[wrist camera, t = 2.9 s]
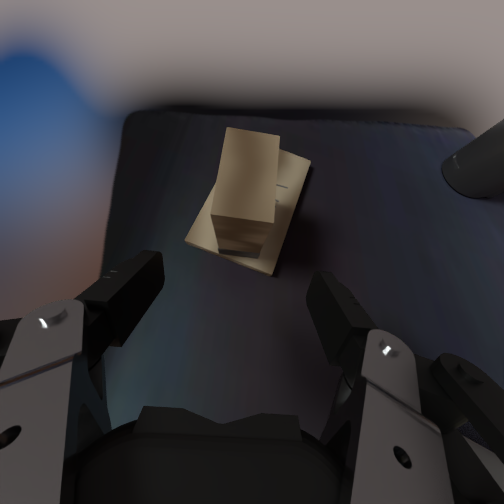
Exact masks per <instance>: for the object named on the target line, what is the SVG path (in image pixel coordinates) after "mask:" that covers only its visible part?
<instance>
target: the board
mask: <svg viewBox="0 0 504 504" xmlns="http://www.w3.org/2000/svg"><path fill="white" fill-rule="evenodd" d="M310 163H311V161H310V160H307V159H304V158H302V157H299V156H296V155H294V154H291V153H289V152H286V151H283V150H281V149H279V155H278V170H277V185H276V199H275V214H274V224H273V226H272V228H271V230H270V232H269V234H268V236H267V238H266V240H265V242H264V245H263V247H262V249H261V251H260V255H259V257H258V259H256V258H248V257H240V256H232V255H224V254H219V252H218V243H217V239H216V235H215V231H214V227H213V223H212V219H211V215H210V212H211V207H212V202H213V197H214V192H215V187H216V184H215V186H214V187H213V189H212V191H211V193H210V195H209V197H208V198H207V200H206V202H205V204H204V206H203V207H202V209H201V211H200V213H199V215H198V217H197V218H196V220H195V222H194V224H193V226H192V228H191V229H190V231H189V233H188V235H187V237H186V239H185V242H186V243H187V244H189V245H192V246H194V247H197V248H199V249H202V250H204V251H207V252H210V253H212V254H215V255H217V256H220V257H222V258H225V259H227V260H230V261H232V262H235V263H237V264H240V265H243V266H245V267H248V268H250V269H253V270H255V271H258V272H260V273H263V274H265V275H268V276H271V275H272V274H273V271H274V268H275V265H276V262H277V259H278V256H279V253H280V250H281V247H282V244H283V242H284V239H285V236H286V233H287V230H288V227H289V224H290V221H291V218H292V215H293V212H294V209H295V207H296V204H297V201H298V198H299V195H300V192H301V189H302V186H303V183H304V180H305V177H306V174H307V171H308V169H309V166H310Z"/></svg>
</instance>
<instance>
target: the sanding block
mask: <svg viewBox="0 0 504 504" xmlns="http://www.w3.org/2000/svg"><path fill="white" fill-rule="evenodd" d="M279 140H280V136H276V135H271V134H265V133H259V132H253V131H247V130H241V129H235V128H229V127H227V130H226V135H225V140H224V145H223V150H222V156H221V161H220V166H219V171H218V176H217V181H216V187H215V192H214V197H213V202H212V207H211V212H210V215H211V219H212V223H213V227H214V231H215V235H216V239H217V243H218V252H219V254H224V255H232V256H240V257H248V258H256V259H258V257H259V255H260V251H261V249H262V247H263V245H264V242H265V240H266V238H267V236H268V234H269V232H270V230H271V228H272V226H273V224H274V214H275V199H276V185H277V170H278V155H279Z"/></svg>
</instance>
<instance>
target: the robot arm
mask: <svg viewBox="0 0 504 504" xmlns="http://www.w3.org/2000/svg"><path fill="white" fill-rule="evenodd" d="M442 172H443V175H444V177H445V179H446V181H447V182H448V183H449V184H450V185H451V186H452V187H453V188H454V189H455V190H456V191H458V192H459V193H461V194H463V195H465V196H468V197H472V198H481V197H487V198H492V197H494V196H496V195H499V194H501V193H503V192H504V119H503V120H502V121H500V122H499V123H497V124H496V125H494V126H493V127H492V128H490V129H489V130H487V131H486V132H485V133H483V134H482V135H480V136H479V137H477V138H476V139H474V140H473V141H471V142H470V143H469V144H467V145H466V146H464V147H463V148H461V149H460V150H458V151H457V152H456V153H454V154H453V155H451V156H450V157H448V158H447V159H446V160H445V161H444V162H443V164H442ZM164 281H165V275H164V266H163V257H162V253H161V252H157V251H149V250H143V251H141V252H140V253H139V254H138V255H136V256H135V257H134V258H133V259H132V258H131V259H128V260H126V261H124V262H121V263H119V264H118V265H117V266H115V267H114V268H113V269H111V271H110V272H108V273H106V274H105V275H104V276H103V277H101V278H100V279H99V280H97V281H96V282H95V283H94V284H92V285H91V286H90V287H89V288H87V289H86V290H85V291H83V292H82V293H81V294H80V295H78V296H77V297H76V298H75V299H73V300H72V299H68V300H60V301H55V302H52V303H49V304H46V305H44V306H41V307H39V308H37V309H35V310H33V311H32V312H30V313H29V314H27V315H26V316H25V317H24V318H18V319H10V320H2V321H0V504H504V492H503V491H502V489H501V488H500V486H499V485H498V484H497V482H496V481H495V480H494V478H493V477H492V475H491V474H490V473H489V471H488V470H487V469H486V467H485V466H484V464H483V463H482V462H481V460H480V459H479V457H478V456H477V455H476V453H475V452H474V451H473V449H472V448H471V446H470V445H469V444H468V442H467V441H466V440H465V438H464V437H463V435H462V434H461V433H460V431H459V430H458V429H457V428H458V427H460V426H461V425H463V424H465V423H466V422H468V421H470V423H471V424H472V425H473V427H474V428H475V429H476V430H477V432H478V433H479V434H480V435H481V437H482V438H483V439H484V440H485V442H486V443H487V444H488V446H489V447H490V448H491V449H492V451H493V452H494V453H495V454H496V456H497V457H498V458H499V459H500V461H501V462H502V463H503V464H504V390H503V389H502V388H501V387H500V386H499V385H498V384H496V383H495V382H494V381H493V380H492V379H491V378H490V377H489V376H488V375H487V374H486V373H484V372H483V371H482V370H481V369H479V368H478V367H477V366H475V365H474V364H472V363H470V362H469V361H467V360H465V359H463V358H461V357H459V356H456V355H453V354H449V353H443V354H441V355H440V356H439V357H438V358H437V359H436V360H435V361H432V360H430V359H427V358H424V357H421V356H418V355H416V354H413V353H412V351H411V350H410V349H409V347H408V346H407V345H406V344H405V343H403V342H402V341H401V340H400V339H399V338H397V337H396V336H394V335H392V334H390V333H388V332H386V331H383V330H379V329H378V328H377V326H376V325H375V324H374V322H373V321H372V320H371V318H370V317H369V316H368V314H367V313H366V312H365V310H364V309H363V308H362V306H361V305H360V304H359V302H358V301H357V299H355V297H354V295H353V294H352V293H351V291H350V290H349V289H348V288H346V287H345V286H344V285H343V284H341V283H339V282H338V281H337V279H336V278H335V276H334V275H333V274H332V273H331V272H324V271H316V272H315V273H314V275H313V278H312V280H311V283H310V286H309V289H308V291H307V295H306V303H307V306H308V309H309V312H310V314H311V317H312V320H313V322H314V325H315V327H316V330H317V333H318V335H319V338H320V341H321V343H322V346H323V349H324V351H325V354H326V356H327V359H328V362H329V364H330V365H331V366H341V368H342V370H343V373H342V374H341V376H340V379H339V383H338V387H337V390H336V394H335V397H334V401H333V404H332V408H331V412H330V415H329V418H328V421H327V424H326V426H325V428H324V430H323V432H322V435H321V437H320V440H317V439H316V438H315V437H313V436H312V435H310V434H308V433H307V432H305V431H303V430H301V429H300V426H299V420H298V416H295V415H280V414H264V413H261V414H257V415H254V416H250V417H247V418H243V419H240V420H236V421H233V422H229V423H226V424H219V423H216V422H213V421H211V420H209V419H207V418H204V417H202V416H200V415H197V414H195V413H193V412H190V411H188V410H186V409H183V408H169V407H153V406H143V408H142V411H141V413H140V415H139V417H138V420H134V421H131V422H129V423H126V424H124V425H121V426H119V427H117V428H115V429H113V430H112V427H111V422H110V417H109V413H108V408H107V396H106V377H105V359H104V355H103V353H104V352H105V350H106V349H107V348H108V346H114V347H122V346H123V344H124V343H125V341H126V340H127V338H128V337H129V336H130V334H131V333H132V331H133V330H134V328H135V327H136V325H137V324H138V323H139V321H140V320H141V318H142V317H143V315H144V314H145V313H146V311H147V310H148V308H149V307H150V305H151V304H152V302H153V301H154V300H155V298H156V297H157V295H158V294H159V292H160V291H161V289H162V288H163V285H164Z"/></svg>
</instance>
